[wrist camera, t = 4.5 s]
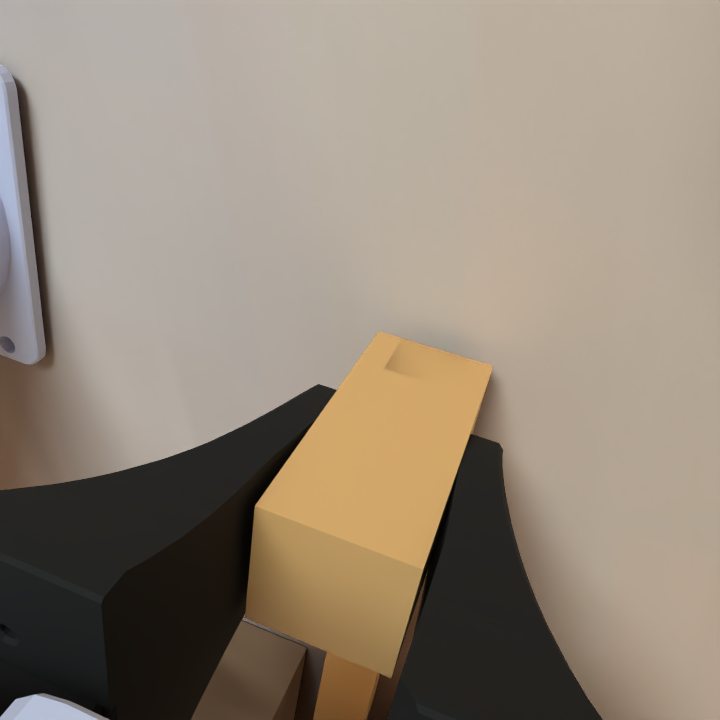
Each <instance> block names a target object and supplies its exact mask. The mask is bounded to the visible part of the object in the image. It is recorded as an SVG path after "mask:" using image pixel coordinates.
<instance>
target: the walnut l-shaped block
mask: <svg viewBox="0 0 720 720" xmlns="http://www.w3.org/2000/svg"><path fill="white" fill-rule="evenodd" d="M306 649H307V648H306V647H304V646H301V645H299V644H296V643H294V642H292V641H289V640H287V639H285V638H282V637H280V636H277V635H275V634H273V633H270V632H268V631H265V630H263V629H261V628H258V627H256V626H254V625H251V624H249V623H246V622H244V621H242V620H241V622H240V624H239V626H238V628H237V630H236V632H235V633H234V635H233V637H232V639H231V641H230V643H229V645H228V647H227V649H226V650H225V652H224V654H223V656H222V658H221V660H220V662H219V664H218V666H217V668H216V670H215V672H214V674H213V676H212V678H211V680H210V682H209V684H208V686H207V688H206V690H205V692H204V694H203V696H202V698H201V700H200V702H199V704H198V706H197V708H196V710H195V712H194V714H193V716H192V718H191V720H294V715H295V710H296V704H297V699H298V693H299V688H300V682H301V677H302V671H303V666H304V660H305V655H306Z"/></svg>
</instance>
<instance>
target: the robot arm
mask: <svg viewBox="0 0 720 720" xmlns="http://www.w3.org/2000/svg"><path fill="white" fill-rule="evenodd" d="M45 354H46V346H45V337H44V328H43V319H42V310H41V301H40V292H39V283H38V274H37V265H36V256H35V247H34V238H33V229H32V221H31V212H30V203H29V194H28V185H27V176H26V167H25V158H24V149H23V140H22V131H21V122H20V113H19V104H18V95H17V88H16V85H15V81H14V79H13V77H12V76H11V74H10V72H9V71H8V70H7V69H6V68H5V67H4V66H2V65H0V355H2V356H4V357H7V358H10V359H13V360H16V361H18V362H21V363H24V364H28V365H32V364H35V363H37V362H38V361H40V360H41V359H43V358H44V356H45ZM336 391H337V390H335V389H332V388H329V387H326V386H323V385H320V384H318V385H316V386H314V387H312V388H310V389H309V390H307V391H305V392H303V393H302V394H300V395H298V396H296V397H295V398H293V399H291V400H290V401H288V402H286V403H284V404H283V405H281V406H279V407H277V408H276V409H274V410H272V411H270V412H268V413H266V414H265V415H263V416H261V417H259V418H257V419H255V420H253V421H252V422H250V423H248V424H246V425H244V426H242V427H240V428H238V429H236V430H234V431H232V432H229V433H227V434H225V435H223V436H221V437H219V438H217V439H215V440H212V441H210V442H208V443H206V444H203V445H201V446H198V447H196V448H193V449H191V450H188V451H185V452H182V453H179V454H177V455H174V456H171V457H168V458H165V459H162V460H159V461H155V462H151V463H148V464H144V465H141V466H137V467H134V468H130V469H126V470H123V471H119V472H115V473H111V474H106V475H102V476H97V477H92V478H87V479H82V480H76V481H71V482H65V483H59V484H52V485H44V486H36V487H27V488H19V489H11V490H0V720H191V718H192V716H193V714H194V712H195V710H196V708H197V706H198V704H199V702H200V700H201V698H202V696H203V694H204V692H205V690H206V688H207V686H208V684H209V682H210V680H211V678H212V676H213V674H214V672H215V670H216V668H217V666H218V664H219V662H220V660H221V658H222V656H223V654H224V652H225V650H226V649H227V647H228V645H229V643H230V641H231V639H232V637H233V635H234V633H235V632H236V630H237V628H238V626H239V624H240V622H241V620H242V618H243V616H244V615H245V612H246V600H247V589H248V578H249V566H250V555H251V544H252V533H253V521H254V510H255V505H256V504H257V502H258V501H259V499H260V498H261V497H262V495H263V494H264V492H265V491H266V490H267V488H268V487H269V485H270V484H271V483H272V481H273V480H274V478H275V477H276V476H277V474H278V473H279V471H280V470H281V468H282V467H283V466H284V464H285V463H286V461H287V460H288V459H289V457H290V456H291V454H292V453H293V452H294V450H295V449H296V447H297V446H298V445H299V443H300V442H301V440H302V439H303V437H304V436H305V435H306V433H307V432H308V430H309V429H310V428H311V426H312V425H313V423H314V422H315V421H316V419H317V418H318V416H319V415H320V414H321V412H322V411H323V409H324V408H325V406H326V405H327V404H328V402H329V401H330V399H331V398H332V397H333V395H334V394H335V392H336ZM502 454H503V449H502V447H501V446H500V444H499V443H497V442H494V441H491V440H488V439H484V438H481V437H478V436H475V435H472V434H470V437H469V440H468V442H467V445H466V448H465V451H464V453H463V456H462V459H461V462H460V465H459V468H458V471H457V475H456V478H455V481H454V485H453V488H452V491H451V495H450V498H449V501H448V505H447V508H446V511H445V515H444V518H443V521H442V524H441V528H440V531H439V534H438V538H437V541H436V544H435V548H434V551H433V554H432V558H431V561H430V564H429V567H428V572H427V576H426V581H425V585H424V590H423V594H422V599H421V604H420V608H419V613H418V617H417V622H416V626H415V631H414V636H413V640H412V643H411V646H410V649H409V652H408V655H407V659H406V662H405V665H404V668H403V671H402V674H401V677H400V680H399V683H398V686H397V689H396V693H395V696H394V699H393V702H392V706H391V709H390V712H389V715H388V719H387V720H602V718H601V717H600V715H599V714H598V712H597V711H596V710H595V708H594V707H593V705H592V704H591V702H590V701H589V699H588V698H587V696H586V695H585V693H584V691H583V690H582V688H581V686H580V685H579V683H578V681H577V680H576V678H575V676H574V675H573V673H572V671H571V670H570V668H569V666H568V664H567V662H566V660H565V658H564V656H563V654H562V652H561V650H560V649H559V647H558V645H557V643H556V641H555V639H554V637H553V635H552V633H551V631H550V629H549V627H548V625H547V623H546V621H545V619H544V617H543V614H542V612H541V610H540V607H539V605H538V603H537V600H536V598H535V596H534V593H533V590H532V588H531V585H530V583H529V580H528V577H527V575H526V572H525V569H524V566H523V563H522V560H521V557H520V553H519V550H518V546H517V543H516V539H515V536H514V532H513V528H512V524H511V519H510V514H509V509H508V505H507V500H506V494H505V487H504V479H503V467H502Z"/></svg>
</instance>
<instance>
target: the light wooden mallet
mask: <svg viewBox="0 0 720 720" xmlns="http://www.w3.org/2000/svg"><path fill="white" fill-rule="evenodd" d="M492 369H493V366H491V365H488V364H485V363H482V362H478V361H475V360H472V359H468V358H465V357H462V356H459V355H455V354H452V353H449V352H445V351H442V350H439V349H436V348H432V347H429V346H426V345H422V344H419V343H416V342H413V341H409V340H406V339H403V338H399V337H396V336H393V335H390V334H386V333H383V332H380V331H379V332H378V333H377V335H376V336H375V337H374V339H373V340H372V342H371V343H370V344H369V346H368V347H367V349H366V350H365V352H364V353H363V354H362V356H361V357H360V359H359V360H358V361H357V363H356V364H355V366H354V367H353V368H352V370H351V371H350V373H349V374H348V375H347V377H346V378H345V380H344V381H343V383H342V384H341V385H340V387H339V388H338V390H337V391H336V392H335V394H334V395H333V397H332V398H331V399H330V401H329V402H328V404H327V405H326V406H325V408H324V409H323V411H322V412H321V414H320V415H319V416H318V418H317V419H316V421H315V422H314V423H313V425H312V426H311V428H310V429H309V430H308V432H307V433H306V435H305V436H304V437H303V439H302V440H301V442H300V443H299V445H298V446H297V447H296V449H295V450H294V452H293V453H292V454H291V456H290V457H289V459H288V460H287V461H286V463H285V464H284V466H283V467H282V468H281V470H280V471H279V473H278V474H277V476H276V477H275V478H274V480H273V481H272V483H271V484H270V485H269V487H268V488H267V490H266V491H265V492H264V494H263V495H262V497H261V498H260V499H259V501H258V502H257V504H256V505H255V510H254V521H253V533H252V544H251V555H250V566H249V578H248V589H247V600H246V612H245V618H248V619H250V620H252V621H255V622H257V623H260V624H262V625H264V626H267V627H269V628H272V629H274V630H276V631H279V632H281V633H284V634H286V635H288V636H291V637H293V638H296V639H298V640H300V641H303V642H305V643H307V644H310V645H312V646H315V647H317V648H319V649H322V650H324V651H327V652H326V657H325V662H324V667H323V672H322V677H321V682H320V687H319V692H318V697H317V702H316V707H315V712H314V717H313V720H366V719H367V716H368V714H369V711H370V708H371V705H372V701H373V698H374V694H375V691H376V687H377V684H378V680H379V676H380V674H382V675H384V676H387V677H389V678H391V677H392V674H393V671H394V668H395V665H396V662H397V659H398V656H399V653H400V651H401V648H402V645H403V642H404V639H405V636H406V633H407V630H408V627H409V624H410V621H411V618H412V615H413V612H414V609H415V606H416V603H417V600H418V597H419V594H420V591H421V588H422V585H423V582H424V579H425V576H426V573H427V570H428V567H429V564H430V561H431V558H432V554H433V551H434V548H435V544H436V541H437V538H438V534H439V531H440V528H441V524H442V521H443V518H444V515H445V511H446V508H447V505H448V501H449V498H450V495H451V491H452V488H453V485H454V481H455V478H456V475H457V471H458V468H459V465H460V462H461V459H462V456H463V453H464V451H465V448H466V445H467V442H468V440H469V437H470V434H473V431H474V428H475V424H476V421H477V418H478V415H479V411H480V408H481V405H482V401H483V398H484V395H485V392H486V388H487V385H488V382H489V379H490V375H491V372H492Z"/></svg>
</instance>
